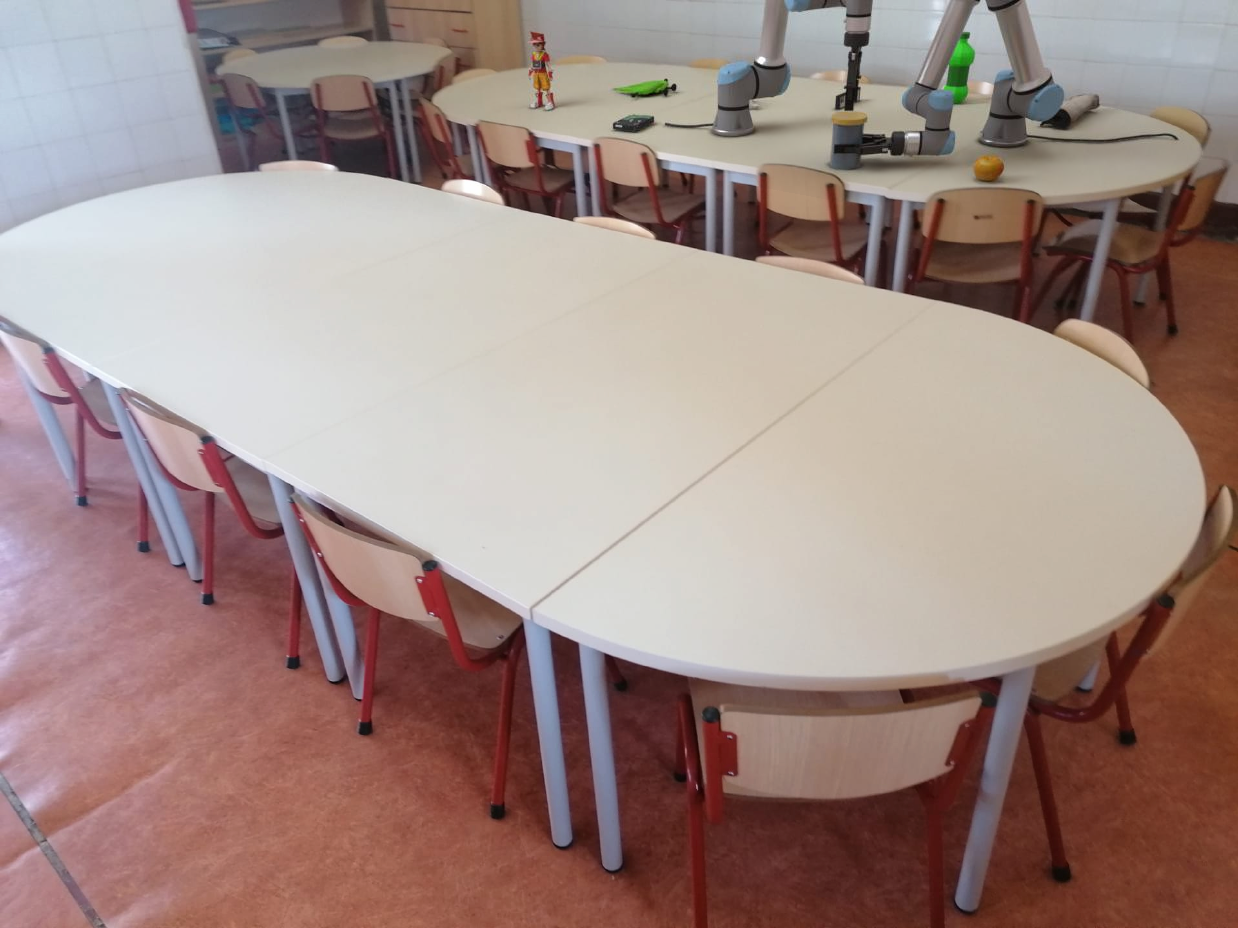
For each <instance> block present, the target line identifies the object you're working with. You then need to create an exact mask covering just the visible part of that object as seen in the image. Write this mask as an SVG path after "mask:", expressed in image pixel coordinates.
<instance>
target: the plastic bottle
mask: <svg viewBox="0 0 1238 928" xmlns="http://www.w3.org/2000/svg"><path fill="white" fill-rule="evenodd" d="M970 36H971V32H970V31H963V33H962V35H961V37H960V39H959V42H958V44H957V46H956V48H955V51H954V53H953V55H952V57H951V60H950V62H949V64H948V69H947V70H948V71H947V76H946V77H947V78H946V84H945V85H944V87H943V89H942V90H949V91H952V92H953V94H954V101H953V104H960V103H961V102H963V101H964V100H966V98H967V96H968V95H969V85H968V79H969V73H970V67H971V65H972V64H973V63H974V61H975V57H976V51H975V49H974V47H972V45H971V44H970V43H969V42H968V41H969V39H970V38H971V37H970Z"/></svg>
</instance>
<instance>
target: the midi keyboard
mask: <svg viewBox="0 0 1238 928" xmlns="http://www.w3.org/2000/svg"><path fill="white" fill-rule="evenodd" d="M861 88H862V87H861V86H858V96H857V101H854V103H855V102H858V101H860V100H861V91H862V90H861ZM845 97H846V91H844V92H842V93H839V94H837V95H835V103H834V109H835V110H839V109H841V108H843V107H845Z"/></svg>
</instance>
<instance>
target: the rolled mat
mask: <svg viewBox="0 0 1238 928" xmlns="http://www.w3.org/2000/svg"><path fill="white" fill-rule="evenodd" d="M1100 106H1101V103H1100V97H1099V94H1096V93H1083V94H1077V95H1074V96H1071V97H1070V98H1069V100H1067V101H1064V102H1063V104H1062V105H1061V106H1060V109H1059V111H1058V112H1057V113H1056V114H1055V115H1054V116H1053V117H1052V118H1050V119H1048V120H1046V121H1043V122H1041V123H1040V124H1039V126H1040V127H1043V126H1045V125H1051V126H1052V127H1053V128H1055V129H1062V130H1065V129H1068V128H1069V127H1070V126H1071V125H1072V124H1074V122H1075V121H1076V120H1077V119H1079V117H1081V116H1082V115H1083V114H1084V113H1085V112H1087V111H1091V110H1096V109H1099V107H1100Z"/></svg>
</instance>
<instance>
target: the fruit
mask: <svg viewBox="0 0 1238 928" xmlns="http://www.w3.org/2000/svg"><path fill="white" fill-rule="evenodd" d="M1004 171H1005V164H1004V160H1002V159H1001V158H1000V157H998V156H997V155H995V154H994V155H993V154H992V155H991V154H986V155H983V156H982V155H981V157H979V158H977V160H976V161H975V162H974V165H973V174H974V177H976V178H977V180H980V181H983V182H985V181H986V182H988V181H989V182H991V181H996V180H997V179H998V178H1000V177H1001V175H1003V172H1004Z"/></svg>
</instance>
